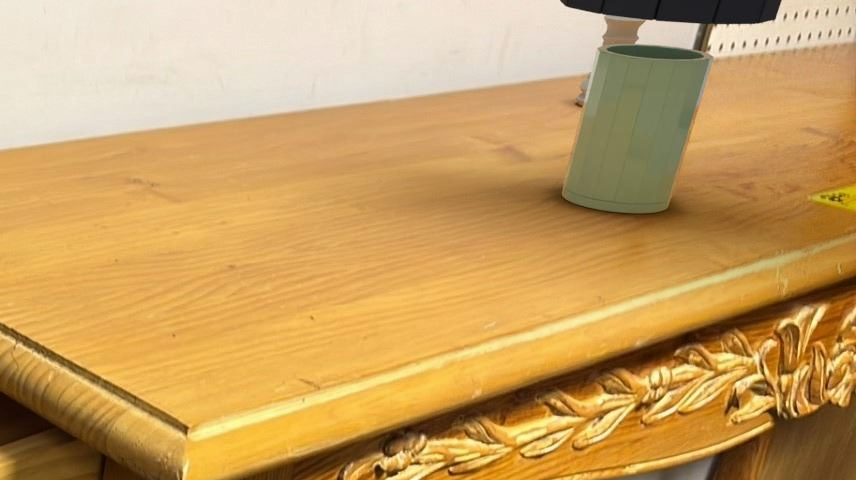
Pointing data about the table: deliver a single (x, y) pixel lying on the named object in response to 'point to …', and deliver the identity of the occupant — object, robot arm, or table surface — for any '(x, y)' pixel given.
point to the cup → (635, 127)
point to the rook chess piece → (615, 40)
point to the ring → (684, 10)
